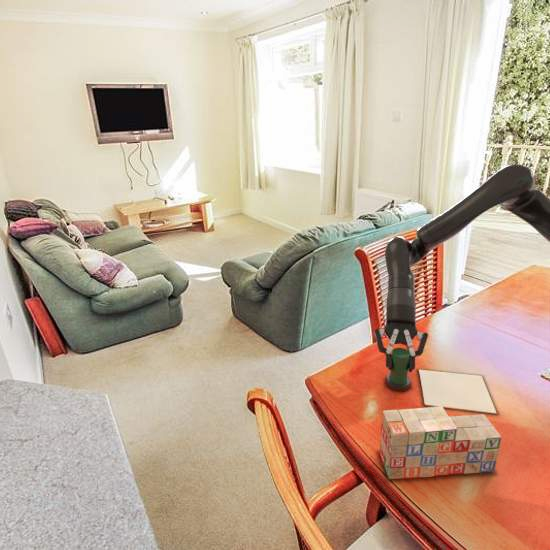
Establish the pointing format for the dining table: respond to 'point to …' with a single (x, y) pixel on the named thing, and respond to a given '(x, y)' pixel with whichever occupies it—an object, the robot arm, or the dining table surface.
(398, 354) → the green cylinder with base
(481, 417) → the stack of blocks
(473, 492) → the dining table surface
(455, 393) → the napkin
